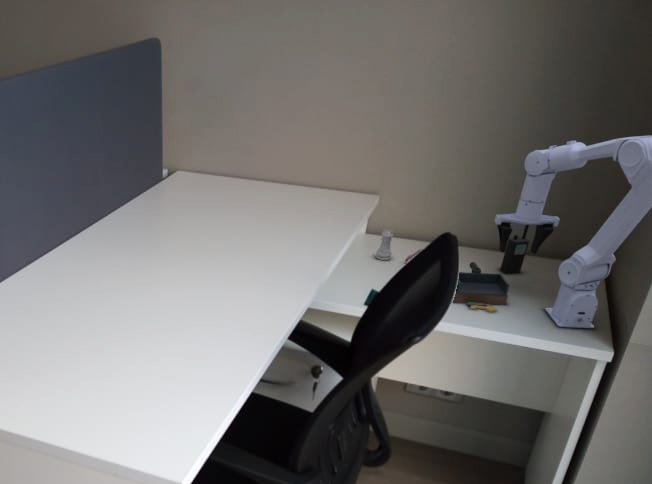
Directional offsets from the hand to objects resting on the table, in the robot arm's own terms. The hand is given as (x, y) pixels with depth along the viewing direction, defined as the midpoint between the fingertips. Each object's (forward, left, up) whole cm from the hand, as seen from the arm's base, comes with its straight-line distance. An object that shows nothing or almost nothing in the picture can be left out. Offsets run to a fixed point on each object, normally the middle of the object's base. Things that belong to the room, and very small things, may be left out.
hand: (517, 251), depth 186 cm
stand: (-7, +10, -10) cm, 16 cm away
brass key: (-14, +10, -9) cm, 20 cm away
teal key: (-13, +11, -10) cm, 19 cm away
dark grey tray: (-6, +10, -7) cm, 14 cm away
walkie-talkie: (+11, -4, -10) cm, 15 cm away
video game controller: (+9, +21, -10) cm, 25 cm away
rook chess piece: (+17, +29, -10) cm, 35 cm away
